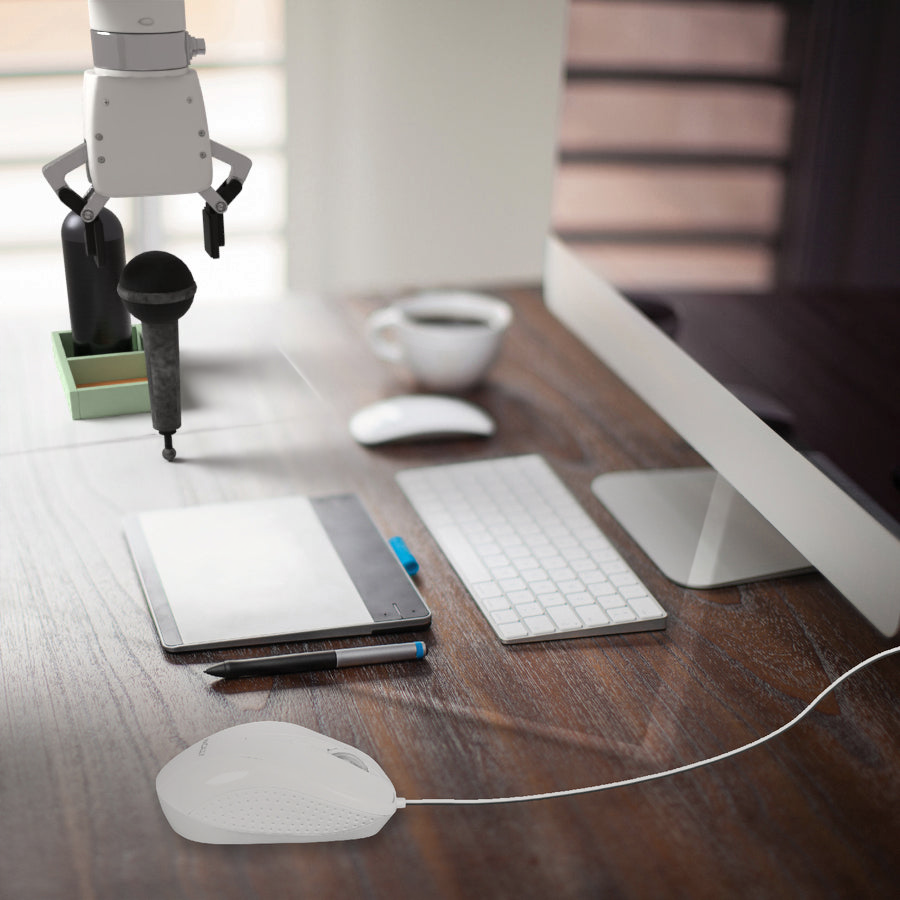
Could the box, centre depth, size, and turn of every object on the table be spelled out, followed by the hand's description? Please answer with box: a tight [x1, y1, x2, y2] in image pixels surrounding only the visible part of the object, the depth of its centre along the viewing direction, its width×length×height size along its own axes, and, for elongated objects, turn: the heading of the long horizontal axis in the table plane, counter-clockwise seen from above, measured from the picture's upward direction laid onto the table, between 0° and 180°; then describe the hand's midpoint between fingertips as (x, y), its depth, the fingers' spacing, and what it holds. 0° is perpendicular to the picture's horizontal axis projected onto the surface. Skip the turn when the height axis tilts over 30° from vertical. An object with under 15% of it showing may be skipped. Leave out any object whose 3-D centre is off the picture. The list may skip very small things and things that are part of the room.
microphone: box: [117, 250, 198, 461], centre depth 103 cm, size 7×7×20 cm
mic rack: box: [50, 323, 151, 421], centre depth 123 cm, size 10×19×4 cm, turn 23°
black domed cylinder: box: [60, 206, 134, 357], centre depth 124 cm, size 6×6×18 cm
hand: (157, 259), depth 100 cm, fingers open, 9 cm apart
